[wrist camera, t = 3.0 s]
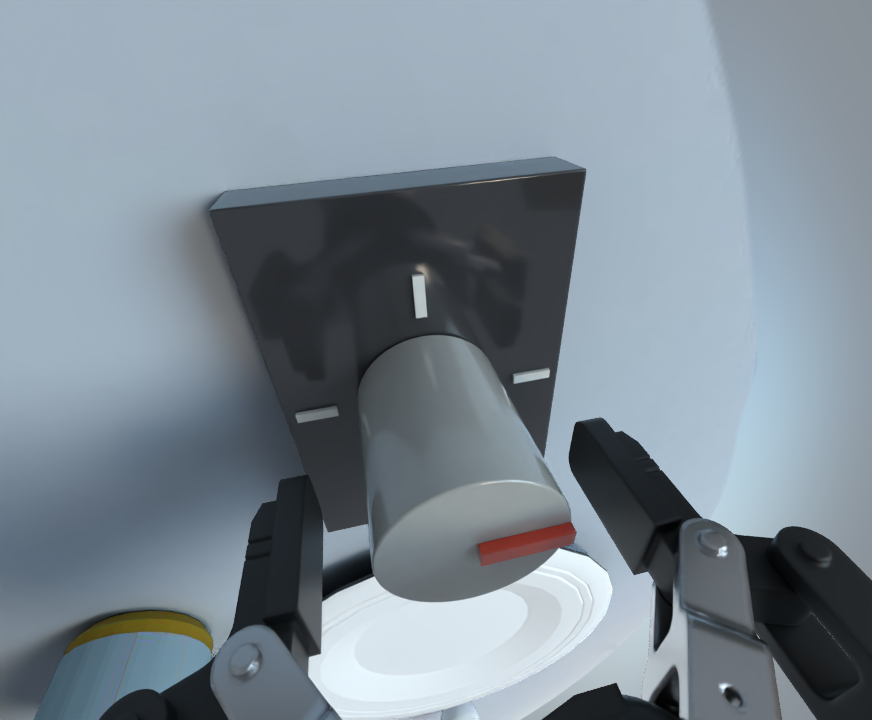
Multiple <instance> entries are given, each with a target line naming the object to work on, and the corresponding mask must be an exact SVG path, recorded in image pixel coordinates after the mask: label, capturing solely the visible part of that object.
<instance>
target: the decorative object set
mask: <svg viewBox="0 0 872 720" xmlns="http://www.w3.org/2000/svg"><path fill="white" fill-rule="evenodd" d="M441 720H479V715H478V712H477V710H476V708H475V706H474V705H473V704H472V703H471V701H470V702H467V703H463V704H460V705H457V706H454V707H451V708H447V709H444V710H442V713H441Z"/></svg>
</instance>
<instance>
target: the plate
mask: <svg viewBox="0 0 872 720" xmlns="http://www.w3.org/2000/svg"><path fill="white" fill-rule="evenodd" d="M612 592H613V590H612V586H611V583H610V579H609V576H608V572H607V571H606V570H605V569H604V568H603V567H602V566H601V565H599V564H598V563H597V562H596V561H595V560H593V559H592V558H591V557H590V556H589V555H587V554H584V553H580V552H577V551H574V550H571V549H567V548H564V547H560V548H559V549H558V550H557V551H556V552H555V553H554V555H553V556H552V557H551V558H549V559H548V560H547V561H546V562H545V563H544V564H543V565H541V566H540V567H539V568H537V569H536V570H535V571H533V572H532V573H530V574H529V575H527V576H525V577H523V578H522V579H520V580H518V581H516V582H514V583H512V584H510V585H508V586H506V587H503V588H501V589H499V590H496V591H493V592H490V593H487V594H484V595H481V596H477V597H473V598H469V599H464V600H458V601H451V602H432V603H431V602H418V601H411V600H407V599H404V598H400V597H398V596H395V595H393V594H391V593H390V592H388V591H386V590H385V589H384V588H383V587H382V586H381V585H380V584H379V583H378V581H377V580H376V578H375V576H374V574H373V573H372V574H370V575H367V576H365V577H363V578H360V579H358V580H356V581H353V582H351V583H349V584H346V585H344V586H342V587H340V588H338V589H336V590H335V591H333V592H332V593H330V594H328V595H327V596H325V597H324V598H322V637H321V654H319V655H315V656H311V657H309V667H308V676H309V678H310V679H311V680H312V682H313V683H314V684H315V686H316V687H317V688H318V690H319V691H320V692H321V694H322V695H323V696H324V698H325V699H326V700H327V702H328V703H329V704H330V705H331V706H332V707H333V708H334V710H335V711H336V712H337V713H338V715H339V716H340V717H341V719H342V720H394V719H402V718H409V717H413V716H417V715H422V714H426V713H431V712H435V711H440V710H444V709H447V708H451V707H454V706H457V705H460V704H463V703H467V702H470V701H473V700H476V699H479V698H482V697H484V696H487V695H489V694H492V693H494V692H497V691H499V690H502V689H504V688H507V687H509V686H512V685H514V684H516V683H518V682H520V681H522V680H524V679H525V678H527V677H529V676H531V675H533V674H535V673H537V672H539V671H541V670H543V669H545V668H546V667H548V666H549V665H551V664H552V663H554V662H555V661H557V660H558V659H560V658H561V657H563V656H564V655H566V654H568V653H569V652H570V651H571V650H573V649H574V648H575V647H576V646H577V645H578V644H579V643H581V642H582V641H583V640H584V639H585V638H586V637H587V636H589V635H590V634H591V633H592V631H593V630H594V629H595V627H596V626H597V625H598V623H599V622H600V621H601V619H602V618H603V617H604V615H605V614H606V612H607V609H608V606H609V602H610V599H611V596H612Z"/></svg>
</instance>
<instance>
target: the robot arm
mask: <svg viewBox="0 0 872 720" xmlns="http://www.w3.org/2000/svg"><path fill="white" fill-rule="evenodd" d="M569 464H570V468H571V471H572V473H573V475H574V477H575V478H576V480H577V482H578V483H579V485H580V487H581V488H582V490H583V492H584V493H585V495H586V497H587V498H588V500H589V502H590V503H591V505H592V507H593V508H594V510H595V512H596V513H597V515H598V516H599V518H600V520H601V521H602V523H603V525H604V526H605V528H606V530H607V531H608V533H609V535H610V536H611V538H612V540H613V541H614V543H615V545H616V546H617V548H618V550H619V551H620V553H621V555H622V556H623V558H624V560H625V561H626V563H627V564H628V566H629V568H630V569H631V571H632V573H633V574H634V575H636V574H640V573H644V572H649V574H650V575H651V577H652V578H653V580H654V581H653V584H652V597H651V616H650V617H651V618H650V635H649V653H648V660H647V665H646V668H645V672H644V677H643V683H642V694H641V699H640V698H637V697H632V696H628V695H622V694H621V692H620V690H619V688H618V686H617V683H614V684H611V685H607V686H604V687H600V688H597V689H594V690H591V691H587V692H584V693H580V694H577V695H574V696H573V697H571V698H570V699H569V700H567V701H566V702H565V703H564V704H562V705H561V706H560V707H558V708H557V709H555V710H554V711H553V712H551V713H550V714H549V715H548V716H546V717H545V718H543V719H542V720H782V716H781V709H780V703H779V696H778V690H777V683H776V678H775V670H774V663H773V658H774V659H775V660H776V662H777V663H778V664H779V666H780V668H781V669H782V670H783V672H784V673H785V675H786V676H787V677H788V679H789V680H790V682H791V683H792V685H793V686H794V687H795V689H796V690H797V691H798V693H799V695H800V696H801V697H802V699H803V700H804V702H805V703H806V705H807V706H808V707H809V709H810V710H811V712H812V713H813V714H814V716H815V717H816V719H817V720H872V580H871V579H870V578H869V577H868V576H866V574H865V573H864V572H863V571H862V570H861V569H860V568H859V567H858V566H857V565H856V564H855V563H854V562H853V561H851V559H850V558H849V557H848V556H847V555H846V554H845V553H844V552H843V551H842V550H841V549H840V548H839V547H838V546H836V545H835V544H834V543H833V542H832V541H830V540H829V539H827V538H826V537H824V536H823V535H821V534H819V533H817V532H814V531H812V530H809V529H806V528H802V527H795V526H791V527H786V528H783V529H782V530H780V531H779V533H778V534H777V535H776V537H775V538H765V537H754V536H742V535H736V534H733V533H732V532H731V531H729V530H728V529H727V528H725V527H724V526H722V525H720V524H718V523H716V522H714V521H711V520H708V519H703V518H702V517H701V516H700V515H699V514H698V513H697V512H696V511H695V510H694V508H693V507H692V506H691V505H690V504H689V502H688V501H687V500H686V499H685V498H684V496H683V495H682V494H681V493H680V492H679V490H678V489H677V488H676V487H675V486H674V484H673V483H672V482H671V481H670V480H669V478H668V477H667V476H666V475H665V474H664V472H663V471H662V470H661V471H660V469H659V466H658V465H657V464H656V463H655V462H654V460H653V459H650V456H649V454H648V453H647V452H646V451H645V450H644V448H643V447H642V446H641V445H640V444H639V442H637V441H636V440H634V439H633V438H631V437H630V436H628V435H627V434H625V433H624V432H622V431H620V432H614V430H613V429H612V428H611V427H610V425H609V424H608V423H607V422H606V421H605V420H604V419H603V418H595V419H590V420H585V421H579V422H576V424H575V426H574V431H573V436H572V441H571V446H570V451H569ZM248 543H249V544H248V545H247V550H246V556H245V558H246V561H245V562H244V568H243V573H242V579H241V585H240V590H239V596H238V602H237V607H236V613H235V619H234V623H233V628H232V630H231V633H230V635H229V637H228V639H227V641H226V642H225V643H224V645H223V646H222V647H221V648H220V650H219V652H218V653H217V655H216V656H215V657H214V658H213V659H212V660H211V661H210V662H209V663H207V664H206V665H205V666H204V667H202V668H201V669H199V670H198V671H196V672H194V673H193V674H191V675H189V676H188V677H186V678H184V679H183V680H181V681H179V682H178V683H176V684H174V685H173V686H171V687H169V688H168V689H166V690H164V691H163V692H161V693H158V692H157V691H155V690H151V689H141V690H136V691H134V692H131V693H129V694H127V695H125V696H124V697H122V698H121V699H119V700H118V701H116V702H115V703H114V704H113V705H112V706H111V707H109V708H108V709H107V711H106V712H105V713H104V714H103V715H102V716H101V717H100V719H99V720H342V719H341V717H340V716H339V715H338V713H337V712H336V711H335V710H334V708H333V707H332V706H331V705H330V704H329V703H328V702H327V700H326V699H325V698H324V696H323V695H322V694H321V692H320V691H319V690H318V688H317V687H316V686H315V684H314V683H313V682H312V680H311V679H310V678H309V676H308V667H309V657H311V656H315V655H319V654H321V637H322V574H323V518H322V511H321V507H320V504H319V501H318V498H317V496H316V493H315V490H314V487H313V485H312V482H311V479H310V477H309V475H308V474H307V475H302V476H296V477H291V478H286V479H281V480H280V482H279V486H278V493H277V501H272V502H267V503H262V505H261V507H260V508H259V510H258V512H257V514H256V515H255V517H254V519H253V520H252V522H251V528H250V533H249V539H248ZM813 614H814V615H815V616H816V617H815V616H814V615H813ZM818 620H819V621H820V622H821V623H820V622H819V621H818ZM823 626H824V627H825V628H826V629H825V628H824V627H823ZM828 632H829V633H830V634H831V635H830V634H829V633H828ZM756 633H757V635H758V636H759V638H760V639H759V638H758V637H757V635H756ZM832 636H833V637H832ZM833 638H834V639H835V640H836V641H835V640H834V639H833ZM838 644H839V645H840V646H841V647H840V646H839V645H838ZM843 650H844V651H845V652H846V653H845V652H844V651H843ZM772 656H773V658H772ZM848 656H849V657H850V658H849V657H848Z"/></svg>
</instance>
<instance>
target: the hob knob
mask: <svg viewBox="0 0 872 720" xmlns="http://www.w3.org/2000/svg"><path fill="white" fill-rule="evenodd" d="M357 403H358V415H359V427H360V439H361V450H362V462H363V474H364V485H365V497H366V509H367V520H368V532H369V544H370V555H371V566H372V572H373V574H374V576H375V578H376V580H377V581H378V583H379V584H380V585H381V586H382V587H383V588H384V589H385V590H386V591H388V592H390V593H391V594H393V595H395V596H398V597H400V598H404V599H407V600H411V601H418V602H431V603H432V602H451V601H458V600H464V599H469V598H473V597H477V596H481V595H484V594H487V593H490V592H493V591H496V590H499V589H501V588H503V587H506V586H508V585H510V584H512V583H514V582H516V581H518V580H520V579H522V578H523V577H525V576H527V575H529V574H530V573H532V572H533V571H535V570H536V569H537V568H539V567H540V566H541V565H543V564H544V563H545V562H546V561H547V560H548V559H549V558H551V557H552V556H553V555H554V553H555V552H556V551H557V550H558V549H559V548H560V547H564V546H568V545H572V544H573V543H574V540H575V536H576V530H575V528H574V526H573V525H572V523H571V510H570V507H569V504H568V502H567V500H566V498H565V496H564V495H563V493H562V491H561V489H560V487H559V486H558V484H557V482H556V480H555V478H554V476H553V475H552V473H551V471H550V469H549V467H548V466H547V464H546V462H545V460H544V458H543V456H542V455H541V453H540V451H539V449H538V447H537V446H536V444H535V442H534V440H533V438H532V436H531V435H530V433H529V431H528V429H527V427H526V426H525V424H524V422H523V420H522V418H521V417H520V415H519V413H518V411H517V409H516V407H515V406H514V404H513V402H512V400H511V398H510V397H509V395H508V393H507V391H506V389H505V387H504V386H503V384H502V382H501V380H500V378H499V377H498V375H497V373H496V371H495V369H494V367H493V366H492V364H491V362H490V361H489V359H488V357H487V356H486V355H485V354H484V353H483V352H482V351H481V350H480V349H479V348H478V347H476V346H475V345H473V344H471V343H470V342H468V341H465V340H463V339H460V338H456V337H453V336H446V335H428V336H421V337H416V338H412V339H409V340H406V341H403V342H401V343H399V344H397V345H395V346H393V347H391V348H390V349H388V350H386V351H385V352H384V353H383V354H381V355H380V356H379V357H378V358H377V359H376V360H375V361H374V362H373V363H372V364H371V365H370V367H369V368H368V369H367V371H366V372H365V374H364V376H363V378H362V380H361V382H360V385H359V389H358V395H357Z"/></svg>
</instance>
